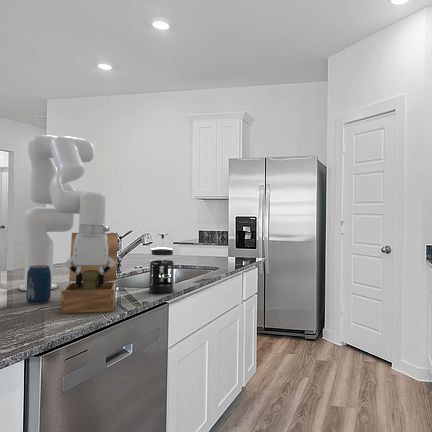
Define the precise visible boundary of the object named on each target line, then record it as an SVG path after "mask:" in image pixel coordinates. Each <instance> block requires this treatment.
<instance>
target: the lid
mask: <svg viewBox="0 0 432 432" xmlns="http://www.w3.org/2000/svg"><path fill="white" fill-rule="evenodd" d="M77 234H79V232H71V242H70V257H69V259H70V258H71V256H72V255H73V252H74V244H75V239H76V235H77ZM104 235H107V238H108V255H109V256H110V257H111V258H112V259H113V261H114V262H115V263H116V264H115V265H114V266H113V267H112V268H110V269H109V270H108V271H107V272H106V273H105V274H104V282H117V272H118V271H117V269H118V245H119V244H118V243H119V233H116V232H115V233H114V232H113V233H112V232H105V233H104ZM71 264H72V265H73V266H75V267H76V268H77V267H78V266H76V265H74V264H73V261H72V262H71ZM109 264H110V263H109V261H108V262H107V264H106V265H103V267H104V268H105V267H106V266H108V265H109ZM86 270H96V271H98V273H100V271H99V267H98V266H83V267H82V269H81V274H82V272H83V271H86ZM68 277H69V278H68V282H76V274H75V273H74V272H73V271H72V270H71V269H70V268H69V276H68ZM82 282H83V280H82ZM97 282H98V280H97Z"/></svg>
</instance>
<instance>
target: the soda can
mask: <svg viewBox="0 0 432 432" xmlns="http://www.w3.org/2000/svg"><path fill="white" fill-rule="evenodd" d="M51 293H52V289H51V270H50V268H49V266H45V265H42V266H30V268H29V270H28V272H27V291H26V301H27V303H28V304H30V305H42V304H47V303H49V301H50V300H51V295H52V294H51Z"/></svg>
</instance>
